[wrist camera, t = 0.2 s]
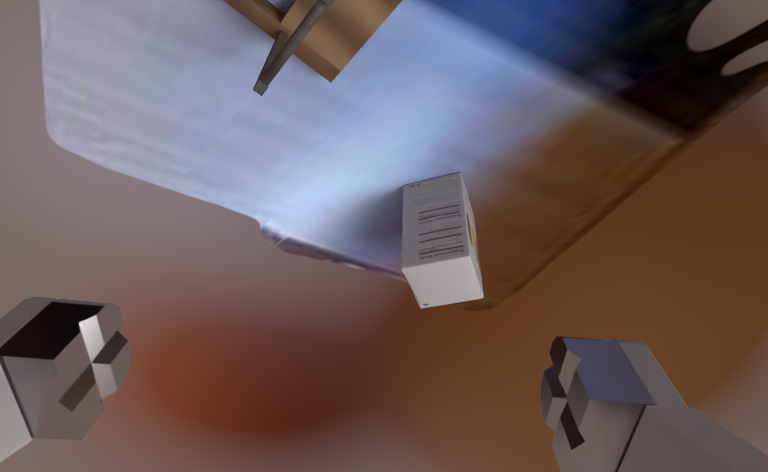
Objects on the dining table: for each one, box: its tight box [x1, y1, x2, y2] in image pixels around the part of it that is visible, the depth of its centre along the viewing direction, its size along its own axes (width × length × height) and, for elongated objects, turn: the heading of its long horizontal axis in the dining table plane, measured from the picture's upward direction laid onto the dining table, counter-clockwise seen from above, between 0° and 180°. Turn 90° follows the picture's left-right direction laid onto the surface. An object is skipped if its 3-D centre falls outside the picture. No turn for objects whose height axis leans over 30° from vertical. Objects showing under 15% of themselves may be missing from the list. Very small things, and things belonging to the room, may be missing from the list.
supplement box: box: [401, 172, 484, 308], centre depth 69 cm, size 10×9×17 cm
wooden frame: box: [224, 0, 402, 96], centre depth 48 cm, size 13×18×14 cm
